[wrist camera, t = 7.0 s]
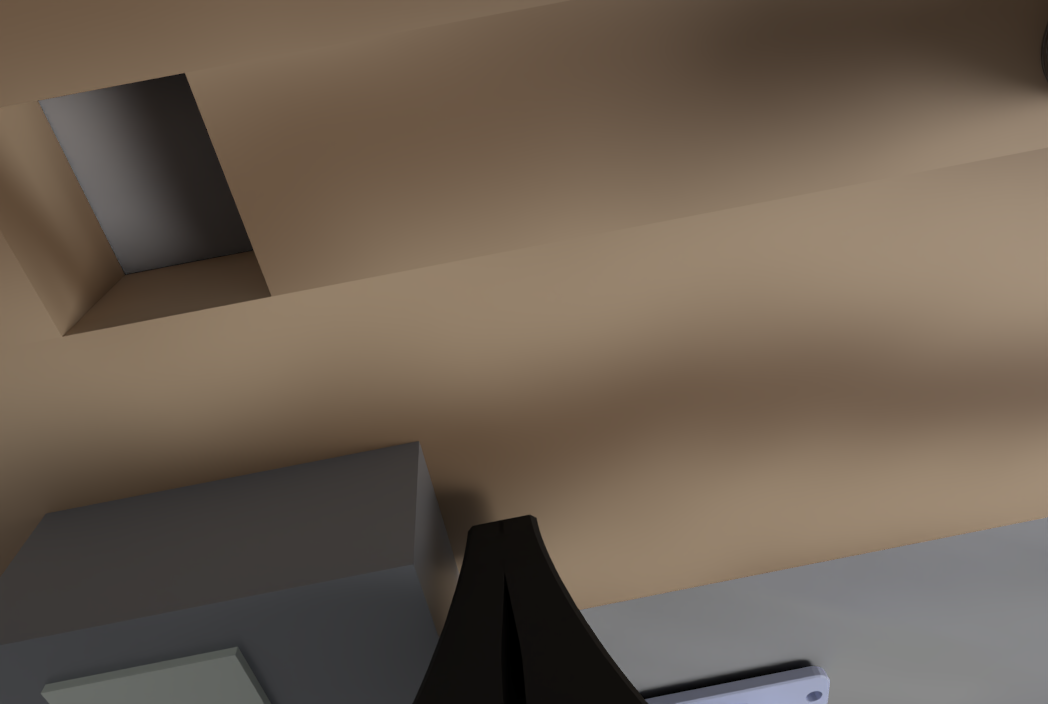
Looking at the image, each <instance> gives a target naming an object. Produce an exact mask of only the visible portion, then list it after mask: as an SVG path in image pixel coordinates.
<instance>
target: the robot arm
mask: <svg viewBox="0 0 1048 704" xmlns="http://www.w3.org/2000/svg"><path fill="white" fill-rule="evenodd" d="M829 686H830V680H829V677H828V676H827V674H826V672H825V670H824V669H823V668H821V667H817V666H809V667H804V668H799V669H794V670H789V671H784V672H779V673H774V674H769V675H764V676H759V677H754V678H749V679H744V680H739V681H734V682H729V683H724V684H719V685H714V686H709V687H704V688H699V689H694V690H688V691H683V692H678V693H673V694H668V695H663V696H658V697H653V698H648V699H644V698H643V697H642V696H641V694H640V693H639V692H638V691H637V690H636V688H635V687H634V686H633V685H632V683H631V682H630V681H629V680H628V679H627V677H626V676H625V675H624V673H623V672H622V671H621V669H620V668H619V667H618V666H617V664H616V663H615V662H614V660H613V659H612V658H611V656H610V655H609V654H608V652H607V651H606V649H605V648H604V647H603V645H602V644H601V642H600V641H599V639H598V638H597V636H596V635H595V633H594V632H593V630H592V629H591V628H590V626H589V625H588V623H587V622H586V620H585V618H584V617H583V615H582V614H581V612H580V610H579V609H578V607H577V606H576V604H575V602H574V601H573V599H572V597H571V595H570V594H569V592H568V590H567V588H566V587H565V585H564V583H563V581H562V580H561V578H560V576H559V574H558V572H557V570H556V568H555V566H554V564H553V562H552V560H551V558H550V556H549V553H548V551H547V549H546V546H545V544H544V541H543V539H542V536H541V533H540V530H539V526H538V522H537V518H536V517H534V516H532V515H525V516H520V517H514V518H509V519H504V520H499V521H494V522H489V523H484V524H479V525H474V526H472V527H471V528H470V529H469V531H468V535H467V542H466V548H465V553H464V558H463V562H462V566H461V570H460V574H459V578H458V582H457V585H456V589H455V592H454V595H453V599H452V602H451V605H450V608H449V611H448V615H447V618H446V621H445V624H444V627H443V630H442V632H441V635H440V638H439V640H438V643H437V646H436V648H435V651H434V653H433V656H432V659H431V661H430V664H429V667H428V669H427V671H426V674H425V676H424V679H423V681H422V683H421V686H420V688H419V690H418V692H417V695H416V697H415V699H414V701H413V703H412V704H828V695H829Z"/></svg>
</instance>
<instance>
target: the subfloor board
mask: <svg viewBox="0 0 1048 704" xmlns="http://www.w3.org/2000/svg"><path fill="white" fill-rule="evenodd" d="M1047 23H1048V0H0V577H1V575H2V574H3V572H4V571H5V570H6V568H7V567H8V565H9V564H10V563H11V561H12V560H13V559H14V557H15V556H16V554H17V553H18V552H19V550H20V549H21V547H22V546H23V545H24V543H25V542H26V540H27V539H28V538H29V536H30V535H31V534H32V532H33V531H34V529H35V528H36V527H37V525H38V524H39V522H40V521H41V520H42V518H43V517H44V515H45V514H46V513H51V512H56V511H62V510H67V509H72V508H77V507H82V506H87V505H92V504H98V503H103V502H108V501H113V500H118V499H123V498H128V497H134V496H139V495H144V494H149V493H154V492H159V491H164V490H170V489H175V488H180V487H185V486H190V485H195V484H201V483H206V482H211V481H216V480H221V479H226V478H231V477H237V476H242V475H247V474H252V473H257V472H262V471H267V470H273V469H278V468H283V467H288V466H293V465H298V464H303V463H309V462H314V461H319V460H324V459H329V458H334V457H339V456H345V455H350V454H355V453H360V452H365V451H370V450H375V449H381V448H386V447H391V446H396V445H401V444H406V443H411V442H417V441H419V442H420V445H421V448H422V452H423V455H424V458H425V462H426V465H427V468H428V472H429V475H430V478H431V482H432V485H433V488H434V492H435V495H436V498H437V502H438V505H439V508H440V512H441V515H442V518H443V521H444V525H445V528H446V531H447V535H448V538H449V541H450V545H451V548H452V551H453V555H454V558H455V561H456V565H457V568H458V571H459V574H460V570H461V566H462V562H463V558H464V553H465V548H466V542H467V535H468V531H469V529H470V528H471V527H472V526H474V525H479V524H484V523H489V522H494V521H499V520H504V519H509V518H514V517H520V516H525V515H532V516H534V517H536V518H537V522H538V526H539V530H540V533H541V536H542V539H543V541H544V544H545V546H546V549H547V551H548V553H549V556H550V558H551V560H552V562H553V564H554V566H555V568H556V570H557V572H558V574H559V576H560V578H561V580H562V581H563V583H564V585H565V587H566V588H567V590H568V592H569V594H570V595H571V597H572V599H573V601H574V602H575V604H576V606H577V607H578V609H579V610H581V609H586V608H591V607H596V606H601V605H606V604H611V603H616V602H622V601H627V600H632V599H637V598H642V597H647V596H652V595H657V594H662V593H667V592H672V591H677V590H682V589H687V588H692V587H697V586H702V585H708V584H713V583H718V582H723V581H728V580H733V579H738V578H743V577H748V576H753V575H758V574H763V573H768V572H773V571H778V570H783V569H788V568H793V567H799V566H804V565H809V564H814V563H819V562H824V561H829V560H834V559H839V558H844V557H849V556H854V555H859V554H864V553H869V552H874V551H879V550H885V549H890V548H895V547H900V546H905V545H910V544H915V543H920V542H925V541H930V540H935V539H940V538H945V537H950V536H955V535H960V534H965V533H971V532H976V531H981V530H986V529H991V528H996V527H1001V526H1006V525H1011V524H1016V523H1021V522H1026V521H1031V520H1036V519H1041V518H1046V517H1048V82H1047V81H1046V78H1045V76H1044V74H1043V71H1042V67H1041V59H1040V55H1041V44H1042V38H1043V35H1044V31H1045V28H1046V25H1047ZM182 73H185V75H186V77H187V80H188V82H189V85H190V87H191V90H192V93H193V95H194V98H195V100H196V103H197V105H198V108H199V111H200V113H201V116H202V118H203V121H204V124H205V126H206V129H207V131H208V134H209V136H210V139H211V142H212V144H213V147H214V149H215V152H216V154H217V157H218V160H219V162H220V165H221V167H222V170H223V172H224V175H225V178H226V180H227V183H228V185H229V188H230V190H231V193H232V196H233V198H234V201H235V203H236V206H237V208H238V211H239V214H240V216H241V219H242V221H243V224H244V227H245V229H246V232H247V234H248V237H249V239H250V242H251V245H252V247H253V251H248V252H243V253H238V254H233V255H227V256H222V257H217V258H212V259H206V260H201V261H196V262H191V263H186V264H180V265H175V266H170V267H165V268H159V269H154V270H149V271H144V272H138V273H133V274H128V275H125V274H124V272H123V270H122V268H121V266H120V264H119V262H118V260H117V258H116V256H115V254H114V252H113V250H112V248H111V246H110V244H109V242H108V240H107V238H106V236H105V234H104V232H103V230H102V228H101V226H100V224H99V222H98V220H97V218H96V216H95V214H94V212H93V210H92V208H91V206H90V204H89V202H88V200H87V198H86V196H85V194H84V192H83V190H82V188H81V186H80V184H79V182H78V180H77V178H76V176H75V174H74V172H73V170H72V168H71V166H70V164H69V162H68V160H67V158H66V156H65V154H64V152H63V150H62V148H61V146H60V144H59V142H58V140H57V138H56V136H55V134H54V132H53V130H52V128H51V126H50V124H49V122H48V120H47V118H46V116H45V114H44V112H43V110H42V108H41V106H40V104H39V102H38V100H44V99H49V98H54V97H60V96H65V95H70V94H75V93H81V92H86V91H91V90H97V89H102V88H107V87H113V86H118V85H123V84H129V83H134V82H139V81H144V80H150V79H155V78H160V77H166V76H171V75H176V74H182Z"/></svg>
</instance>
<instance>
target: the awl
mask: <svg viewBox="0 0 1048 704" xmlns="http://www.w3.org/2000/svg"><path fill="white" fill-rule="evenodd" d="M1040 59H1041V67H1042V71H1043V74H1044V76H1045V78H1046V81H1047V82H1048V23H1047V25H1046V28H1045V31H1044V35H1043V38H1042V44H1041V55H1040Z"/></svg>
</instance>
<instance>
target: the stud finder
mask: <svg viewBox="0 0 1048 704" xmlns="http://www.w3.org/2000/svg"><path fill="white" fill-rule="evenodd" d="M458 578H459V571H458V568H457V565H456V561H455V558H454V555H453V551H452V548H451V545H450V541H449V538H448V535H447V531H446V528H445V525H444V521H443V518H442V515H441V512H440V508H439V505H438V502H437V498H436V495H435V492H434V488H433V485H432V482H431V478H430V475H429V472H428V468H427V465H426V462H425V458H424V455H423V452H422V448H421V445H420V442H419V441H417V442H411V443H406V444H401V445H396V446H391V447H386V448H381V449H375V450H370V451H365V452H360V453H355V454H350V455H345V456H339V457H334V458H329V459H324V460H319V461H314V462H309V463H303V464H298V465H293V466H288V467H283V468H278V469H273V470H267V471H262V472H257V473H252V474H247V475H242V476H237V477H231V478H226V479H221V480H216V481H211V482H206V483H201V484H195V485H190V486H185V487H180V488H175V489H170V490H164V491H159V492H154V493H149V494H144V495H139V496H134V497H128V498H123V499H118V500H113V501H108V502H103V503H98V504H92V505H87V506H82V507H77V508H72V509H67V510H62V511H56V512H51V513H46V514H45V515H44V517H43V518H42V520H41V521H40V522H39V524H38V525H37V527H36V528H35V529H34V531H33V532H32V534H31V535H30V536H29V538H28V539H27V540H26V542H25V543H24V545H23V546H22V547H21V549H20V550H19V552H18V553H17V554H16V556H15V557H14V559H13V560H12V561H11V563H10V564H9V565H8V567H7V568H6V570H5V571H4V572H3V574H2V575H1V577H0V704H412V703H413V701H414V699H415V697H416V695H417V692H418V690H419V688H420V686H421V683H422V681H423V679H424V676H425V674H426V671H427V669H428V667H429V664H430V661H431V659H432V656H433V653H434V651H435V648H436V646H437V643H438V640H439V638H440V635H441V632H442V630H443V627H444V624H445V621H446V618H447V615H448V611H449V608H450V605H451V602H452V599H453V595H454V592H455V589H456V585H457V582H458Z"/></svg>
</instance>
